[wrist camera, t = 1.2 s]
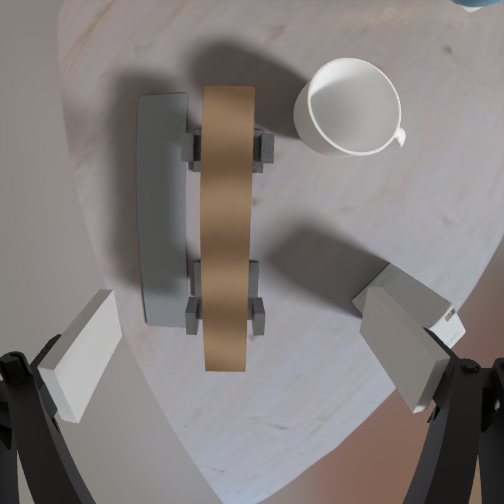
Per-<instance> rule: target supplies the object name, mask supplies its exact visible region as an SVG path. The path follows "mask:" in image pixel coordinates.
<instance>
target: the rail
mask: <svg viewBox="0 0 504 504" xmlns="http://www.w3.org/2000/svg"><path fill="white" fill-rule="evenodd" d="M254 108H255V87H254V86H204V91H203V111H202V137H201V181H200V245H201V290H202V316H203V338H204V355H205V371H226V372H245V368H246V337H247V307H248V277H249V247H250V219H251V190H252V163H253V135H254Z"/></svg>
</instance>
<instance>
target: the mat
mask: <svg viewBox="0 0 504 504" xmlns="http://www.w3.org/2000/svg"><path fill="white" fill-rule="evenodd" d="M187 106H188V93H175V94H158V95H145V96H139V97H138V115H137V142H136V192H137V220H138V238H139V252H140V264H141V275H142V285H143V294H144V302H145V310H146V318H147V325H148V326H165V327H186V322H185V311H186V307H187V303H188V283H187V259H186V216H185V172H186V162H181V133H186V129H187Z"/></svg>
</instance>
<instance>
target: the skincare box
mask: <svg viewBox="0 0 504 504" xmlns="http://www.w3.org/2000/svg"><path fill="white" fill-rule="evenodd" d="M368 287H381V288H382V289H383V290H385V291H386V292H387V293H388V294H389V295H390V296H391V297H392V298H393V299H394V300H395V301H396V302H397V303H398V304H399V305H400V306H401V307H402V308H403V309H404V310H405V311H406V312H407V313H408V314H409V315H410V316H411V317H412V318H413V319H414V320H415V321H416V322H417V323H418V324H419V325H420V326H421V327H422V328H423V327H425V328H427V329H429V330H431V331H432V332H434V333H435V334H436V335H437V336H438V337H439V338H440V339H441V340H442V341H443V342H444V344H446V345H447V346H448V347H449V348H451V347H452V346H453V345H454V344H455V343H456V342H457V341H458V340H459V339H460V338H461V337H462V336H463V334H464V333H465V332H466V331H465V329H464V327H463V325H462V323H461V322H460V319H459V317H458V315H457V313H456V311H455V309H454V307H453V305H452V303H450V302H449V301H447V300H446V299H444V298H443V297H441V296H440V295H438V294H437V293H436V292H434V291H433V290H431V289H430V288H428V287H427V286H425V285H424V284H422V283H421V282H419V281H418V280H416V279H415V278H413V277H412V276H410V275H408V274H407V273H405V272H404V271H402V270H401V269H399V268H398V267H396V266H394V265H393V264H391V263H390V264H389V265H388V266H387V267H386V268H385V269H384V270H383V271H382V272H381V273H380V274H379V275H378V276H377V277H376V278H375V279H374V280H373V281H372V282H371V283H370V284H369V285H368V286H367V287H366V288H365V289H364V290H363V291H362V292H361V293H360V294H359V295H357V296H356V297H355V298H354V299H353V300H352V303H353V304H354V306H355V307H356V308H357V309H358V310H359V311H360V312H361V314H362V315H363V312H364V307H365V301H366V296H367V290H368Z"/></svg>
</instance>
